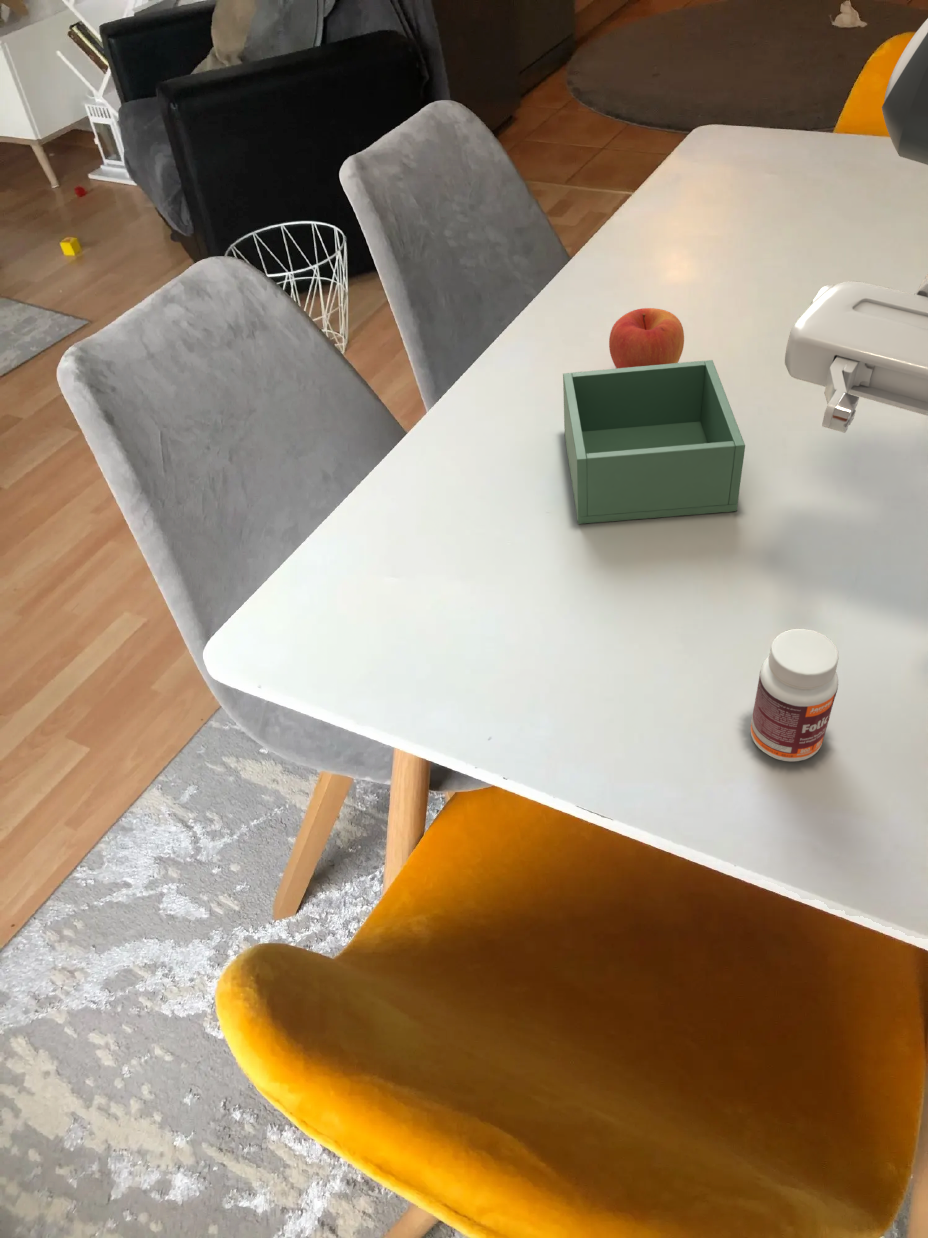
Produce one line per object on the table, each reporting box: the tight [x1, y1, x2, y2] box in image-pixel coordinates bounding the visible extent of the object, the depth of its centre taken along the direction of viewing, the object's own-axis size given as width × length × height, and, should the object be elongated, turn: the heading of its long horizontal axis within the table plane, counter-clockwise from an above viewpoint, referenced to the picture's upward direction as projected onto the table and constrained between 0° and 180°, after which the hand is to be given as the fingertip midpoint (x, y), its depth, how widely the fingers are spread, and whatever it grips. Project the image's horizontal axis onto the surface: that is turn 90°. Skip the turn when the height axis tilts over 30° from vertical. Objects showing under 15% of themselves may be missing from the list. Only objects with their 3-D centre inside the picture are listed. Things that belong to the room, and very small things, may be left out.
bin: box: [562, 359, 746, 525], centre depth 85 cm, size 14×14×7 cm
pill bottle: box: [749, 628, 840, 762], centre depth 62 cm, size 5×5×8 cm
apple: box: [608, 307, 685, 369], centre depth 96 cm, size 7×7×8 cm
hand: (912, 445), depth 58 cm, fingers open, 8 cm apart
